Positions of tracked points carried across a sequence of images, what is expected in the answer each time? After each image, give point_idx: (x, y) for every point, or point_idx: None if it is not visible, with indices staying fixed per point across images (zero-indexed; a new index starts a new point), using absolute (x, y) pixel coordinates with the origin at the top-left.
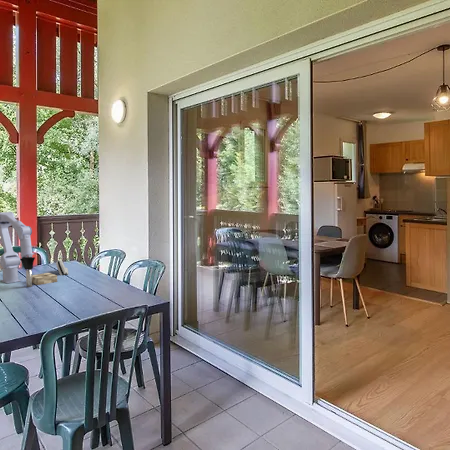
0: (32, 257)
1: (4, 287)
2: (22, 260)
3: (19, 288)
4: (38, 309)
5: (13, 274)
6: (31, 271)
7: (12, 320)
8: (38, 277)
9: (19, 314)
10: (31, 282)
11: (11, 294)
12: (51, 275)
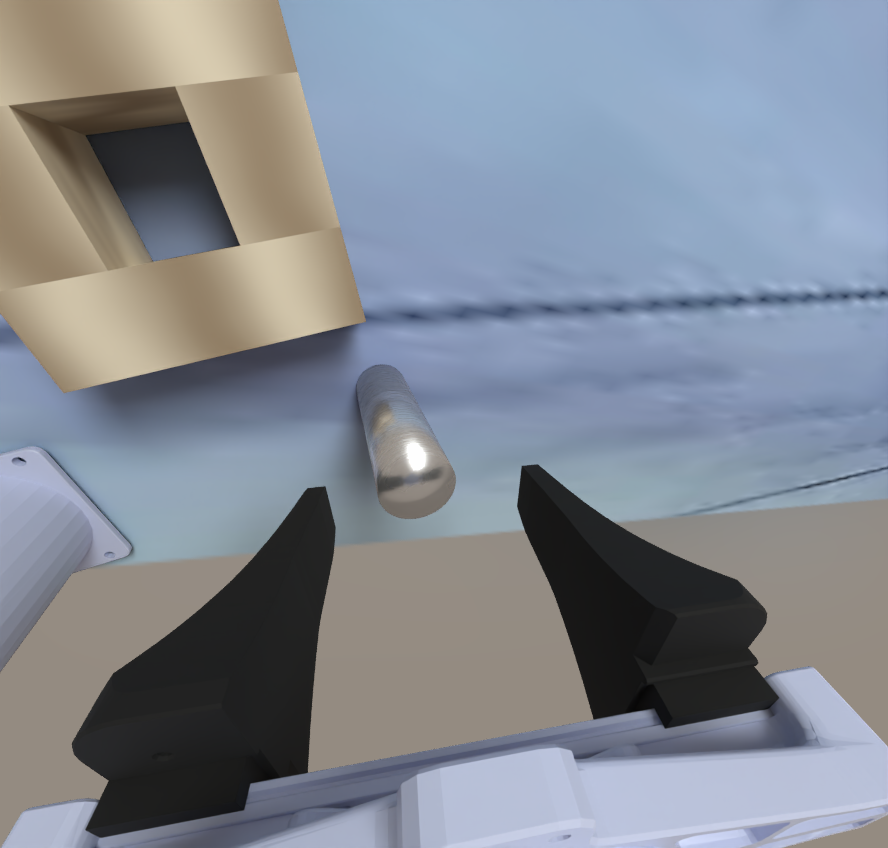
0: (676, 647)
1: None
2: (308, 722)
3: None
4: (859, 402)
5: (24, 576)
6: (432, 445)
7: (853, 484)
8: (289, 296)
9: (832, 466)
10: (406, 387)
11: None
12: (196, 22)
